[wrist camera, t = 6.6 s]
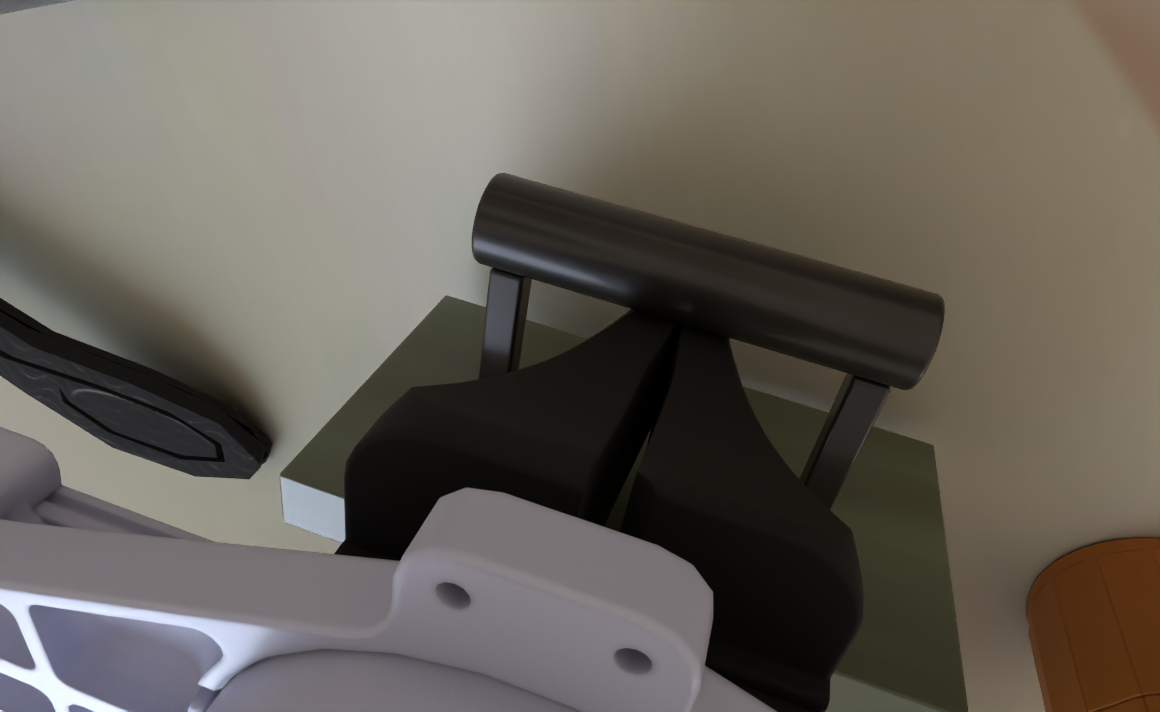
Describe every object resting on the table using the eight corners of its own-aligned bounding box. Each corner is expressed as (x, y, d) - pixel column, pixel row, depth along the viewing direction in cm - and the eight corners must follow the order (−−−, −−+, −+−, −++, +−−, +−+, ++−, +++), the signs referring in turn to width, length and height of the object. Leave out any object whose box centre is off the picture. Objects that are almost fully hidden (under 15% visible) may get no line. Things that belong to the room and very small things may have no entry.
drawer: (460, 83, 15) (254, 203, 10) (1052, 239, 14) (1174, 480, 9) (421, 635, 26) (309, 834, 21) (752, 760, 24) (723, 1012, 19)
